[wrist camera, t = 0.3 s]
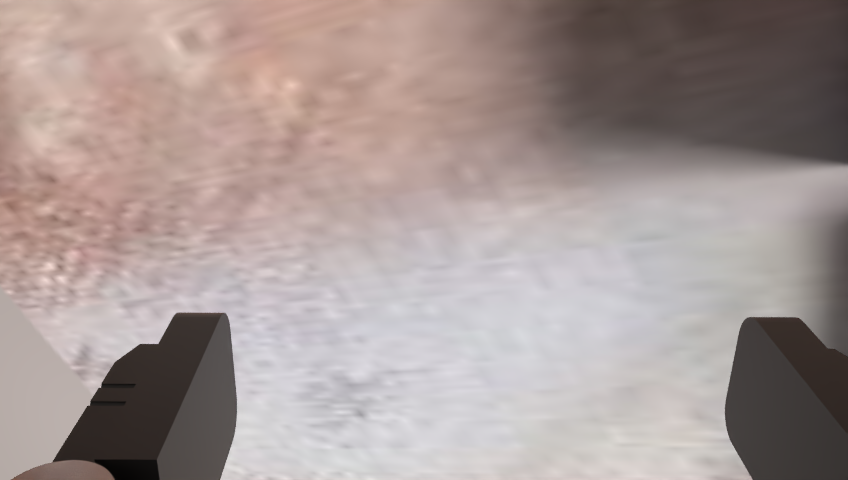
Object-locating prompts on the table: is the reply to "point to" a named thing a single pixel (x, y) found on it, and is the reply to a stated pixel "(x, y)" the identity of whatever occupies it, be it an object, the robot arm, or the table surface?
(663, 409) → the table surface
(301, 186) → the table surface
